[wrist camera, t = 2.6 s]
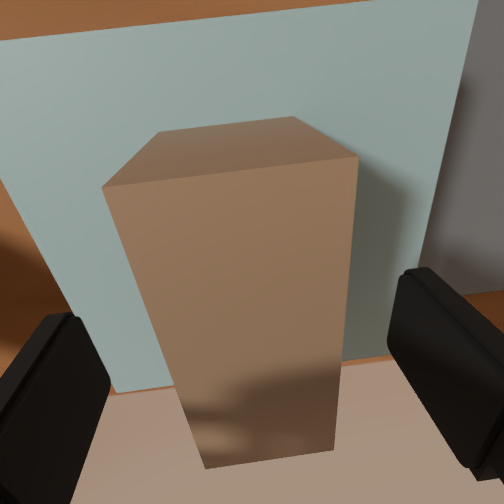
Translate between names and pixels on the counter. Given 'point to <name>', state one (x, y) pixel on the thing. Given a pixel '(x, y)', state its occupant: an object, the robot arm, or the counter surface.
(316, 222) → the cover
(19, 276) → the counter surface
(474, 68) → the mat
